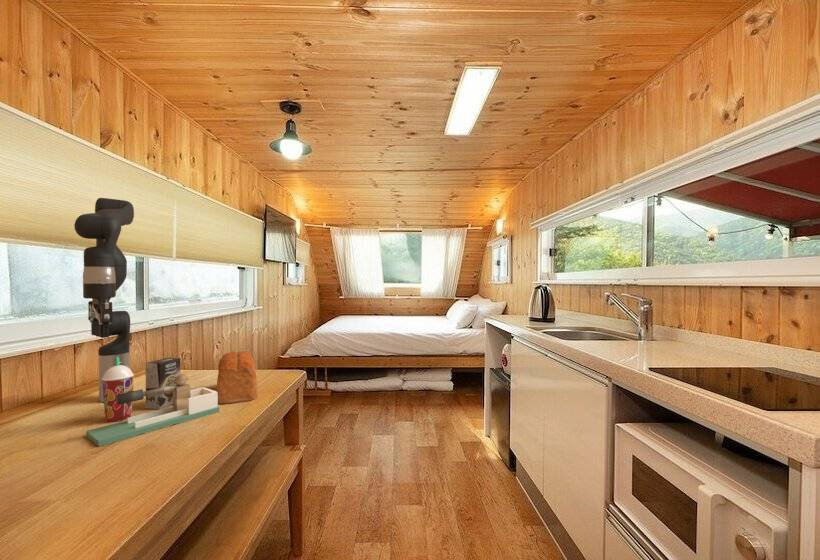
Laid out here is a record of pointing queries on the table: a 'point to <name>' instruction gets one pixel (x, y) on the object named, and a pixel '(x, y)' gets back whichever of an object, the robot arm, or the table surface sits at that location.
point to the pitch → (157, 418)
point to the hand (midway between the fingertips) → (100, 336)
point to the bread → (236, 378)
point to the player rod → (179, 392)
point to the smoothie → (117, 391)
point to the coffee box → (161, 381)
